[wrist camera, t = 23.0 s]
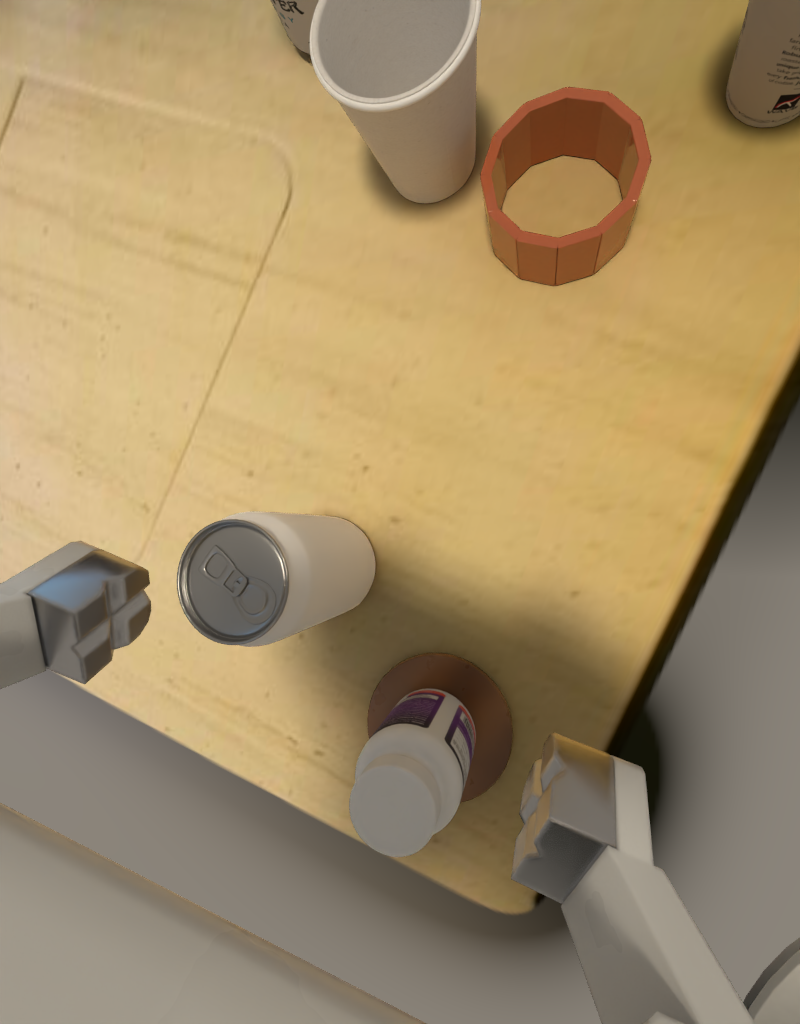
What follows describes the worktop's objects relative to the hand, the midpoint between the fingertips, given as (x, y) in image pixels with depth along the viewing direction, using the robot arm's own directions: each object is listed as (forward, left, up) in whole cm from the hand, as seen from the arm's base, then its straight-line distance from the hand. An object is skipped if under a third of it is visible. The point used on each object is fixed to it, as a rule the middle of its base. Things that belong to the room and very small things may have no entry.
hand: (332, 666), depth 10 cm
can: (+9, +3, -24) cm, 26 cm away
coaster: (-1, +10, -24) cm, 26 cm away
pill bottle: (-1, +10, -24) cm, 26 cm away
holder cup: (+2, -22, -24) cm, 33 cm away
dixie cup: (+11, -24, -24) cm, 36 cm away
